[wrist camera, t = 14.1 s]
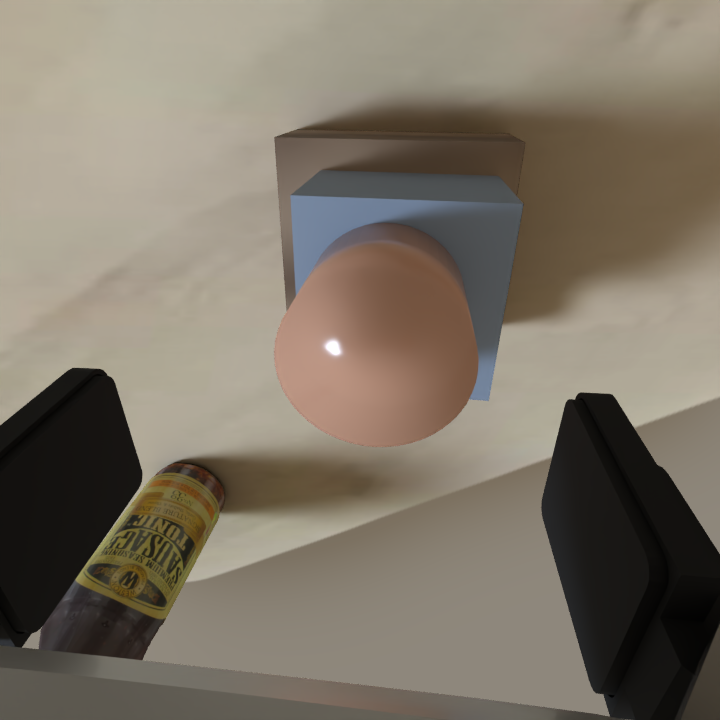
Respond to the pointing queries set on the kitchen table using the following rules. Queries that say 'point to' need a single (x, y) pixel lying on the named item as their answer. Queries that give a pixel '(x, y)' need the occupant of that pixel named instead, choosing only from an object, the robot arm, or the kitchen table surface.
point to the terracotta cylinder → (379, 339)
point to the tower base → (385, 163)
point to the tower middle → (432, 216)
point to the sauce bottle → (138, 568)
